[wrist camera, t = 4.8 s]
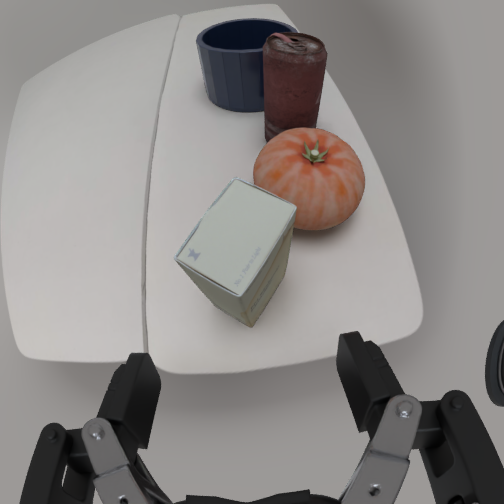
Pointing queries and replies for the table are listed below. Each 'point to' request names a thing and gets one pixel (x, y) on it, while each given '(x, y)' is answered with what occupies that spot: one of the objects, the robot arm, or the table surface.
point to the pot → (236, 61)
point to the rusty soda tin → (292, 81)
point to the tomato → (312, 176)
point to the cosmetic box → (240, 249)
